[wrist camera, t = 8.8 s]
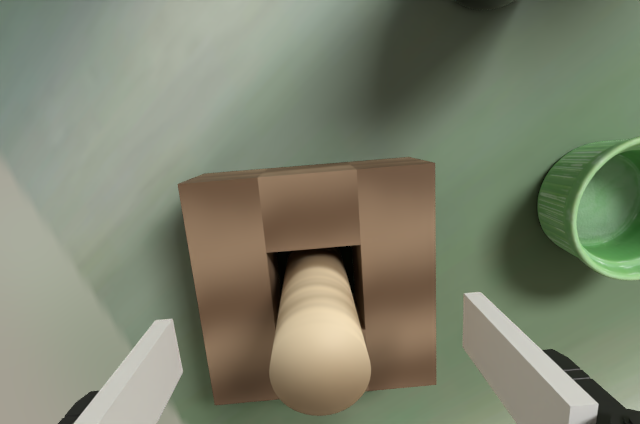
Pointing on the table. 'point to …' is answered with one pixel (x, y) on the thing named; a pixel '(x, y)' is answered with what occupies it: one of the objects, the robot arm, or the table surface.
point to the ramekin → (596, 206)
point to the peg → (318, 336)
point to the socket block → (311, 233)
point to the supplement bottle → (484, 4)
